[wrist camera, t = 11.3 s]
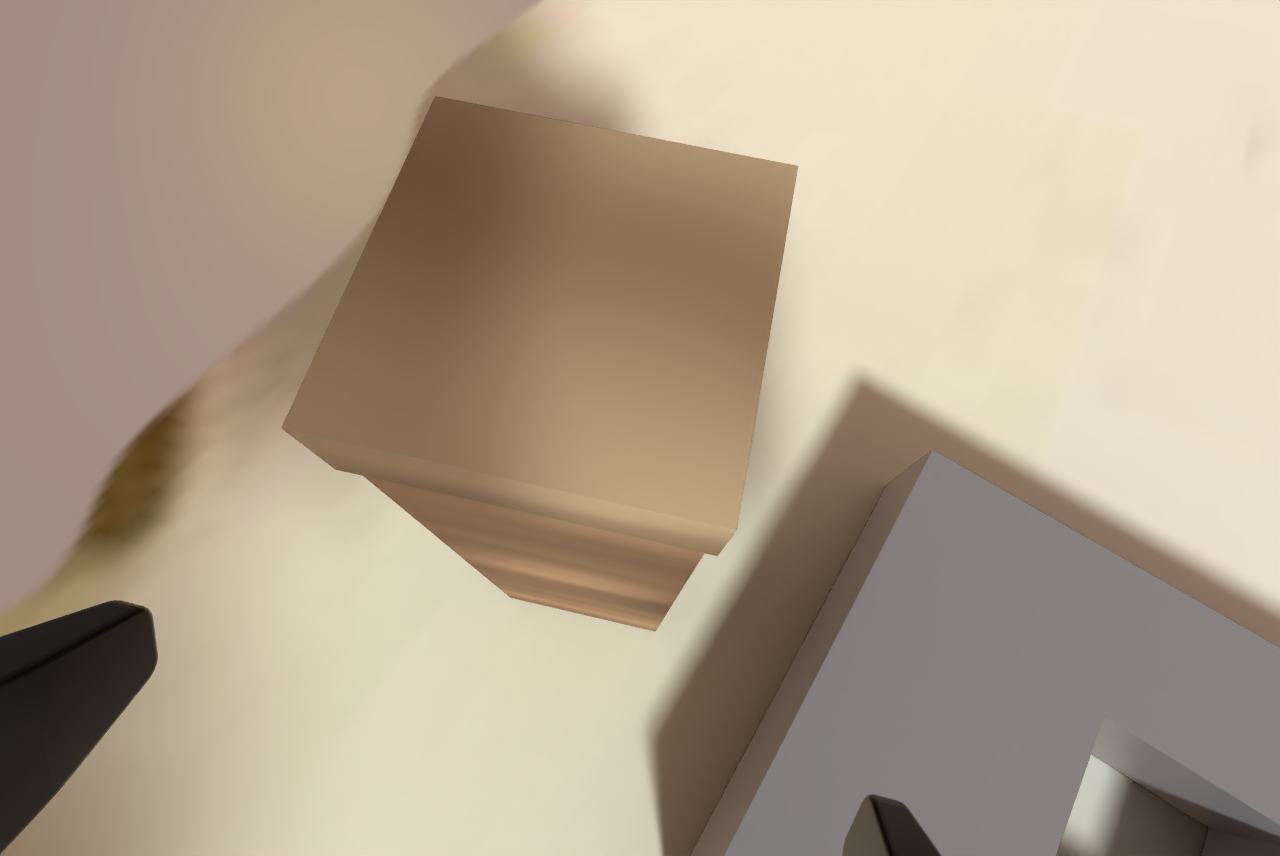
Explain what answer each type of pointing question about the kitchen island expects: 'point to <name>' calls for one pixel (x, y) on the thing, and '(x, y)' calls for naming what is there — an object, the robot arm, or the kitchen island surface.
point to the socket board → (1003, 689)
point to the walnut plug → (558, 353)
